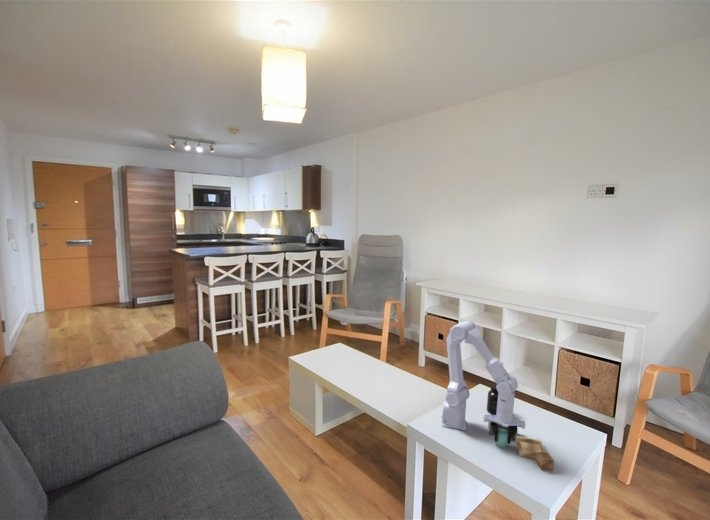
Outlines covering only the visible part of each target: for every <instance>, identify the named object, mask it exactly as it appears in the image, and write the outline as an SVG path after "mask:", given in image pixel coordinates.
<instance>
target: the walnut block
mask: <svg viewBox="0 0 710 520" xmlns="http://www.w3.org/2000/svg"><path fill="white" fill-rule="evenodd" d="M545 452H546V451H545ZM545 452H537V454H536V459H535V464H536V465H537V466H538V467H539V469H540V470H541V471H554V466H555V465H554V464H555V459H554V458H553V457H552V456H551V455H550V453H549V452H546V453H545Z"/></svg>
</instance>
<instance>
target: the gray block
mask: <svg viewBox="0 0 710 520" xmlns="http://www.w3.org/2000/svg"><path fill="white" fill-rule="evenodd" d="M497 424H498V423H497ZM518 428H519V427H517V429H518ZM487 429H488V435H491V436H494V432H493V430H492V427H491V422H488V424H487ZM498 429H505V430H507V431H508V427H504V426H502V425H501V424H498ZM516 436H518V432H517V433H516V434H515V435H514V436H513V438H512V440H513V439H514V440H515V437H516Z"/></svg>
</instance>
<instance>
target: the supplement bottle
mask: <svg viewBox="0 0 710 520" xmlns="http://www.w3.org/2000/svg"><path fill="white" fill-rule="evenodd" d="M496 385H497V383H495V384H491V385H490V390H488V392H487V399H486V401H487V402H486V403H487V404H486V411H487V412H488V413H489V415H496V412H497V401H498V391H497V388H496Z"/></svg>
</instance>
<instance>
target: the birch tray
mask: <svg viewBox="0 0 710 520" xmlns="http://www.w3.org/2000/svg"><path fill="white" fill-rule="evenodd" d="M514 441H515V446H516V448H517V453H518V455H519V456H521V457H525V458H531V459H535V460H536V454H537V452H545V453H547V452H546V450H545V447H544V445H543V442H542V440H541V439H535V438H530V437H525V436H524V437H523V436H518V435H516V437H515V439H514Z"/></svg>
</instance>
